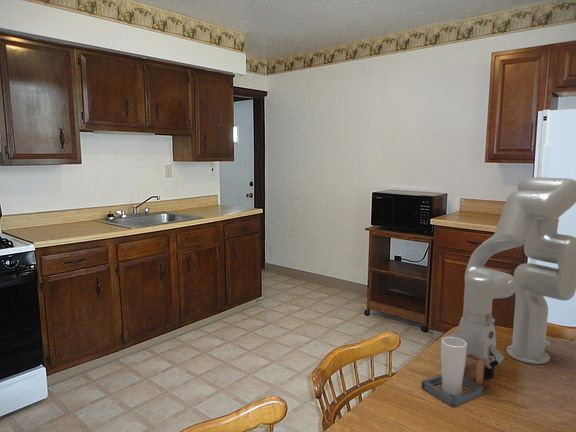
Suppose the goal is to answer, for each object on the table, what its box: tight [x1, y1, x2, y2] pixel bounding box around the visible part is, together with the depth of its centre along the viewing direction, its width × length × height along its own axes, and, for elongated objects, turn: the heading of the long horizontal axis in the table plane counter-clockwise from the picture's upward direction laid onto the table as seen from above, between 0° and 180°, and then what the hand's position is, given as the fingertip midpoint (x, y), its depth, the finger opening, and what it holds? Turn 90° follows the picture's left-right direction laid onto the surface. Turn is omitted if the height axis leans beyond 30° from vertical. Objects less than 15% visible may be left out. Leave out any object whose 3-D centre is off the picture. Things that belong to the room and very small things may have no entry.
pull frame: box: [421, 353, 486, 408], centre depth 118 cm, size 17×11×8 cm, turn 119°
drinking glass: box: [440, 336, 468, 397], centre depth 117 cm, size 7×7×15 cm
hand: (473, 371), depth 122 cm, fingers open, 9 cm apart
